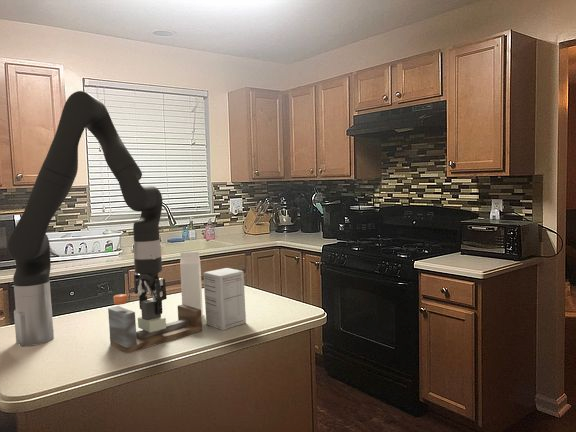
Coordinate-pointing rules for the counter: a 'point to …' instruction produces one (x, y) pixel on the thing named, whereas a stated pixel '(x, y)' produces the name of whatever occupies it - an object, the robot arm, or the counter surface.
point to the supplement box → (224, 298)
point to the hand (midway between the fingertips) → (151, 311)
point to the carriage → (150, 318)
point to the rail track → (172, 333)
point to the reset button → (120, 299)
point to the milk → (191, 280)
